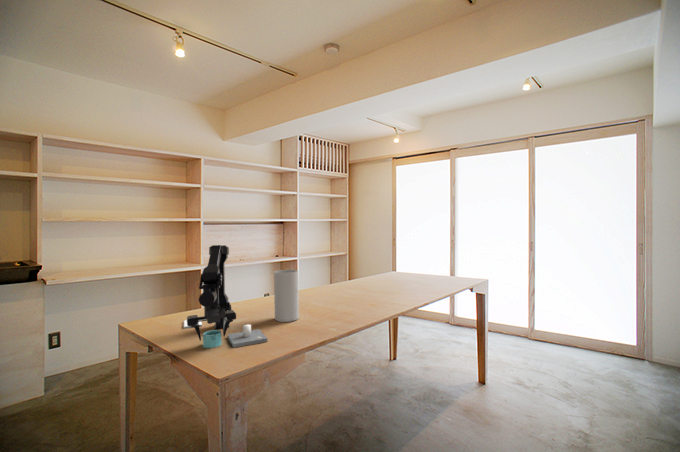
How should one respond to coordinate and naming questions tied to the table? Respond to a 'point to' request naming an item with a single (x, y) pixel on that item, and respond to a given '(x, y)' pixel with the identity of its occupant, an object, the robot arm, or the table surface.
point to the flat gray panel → (246, 337)
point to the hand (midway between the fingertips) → (212, 338)
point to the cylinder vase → (286, 295)
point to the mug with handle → (212, 339)
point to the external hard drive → (190, 326)
